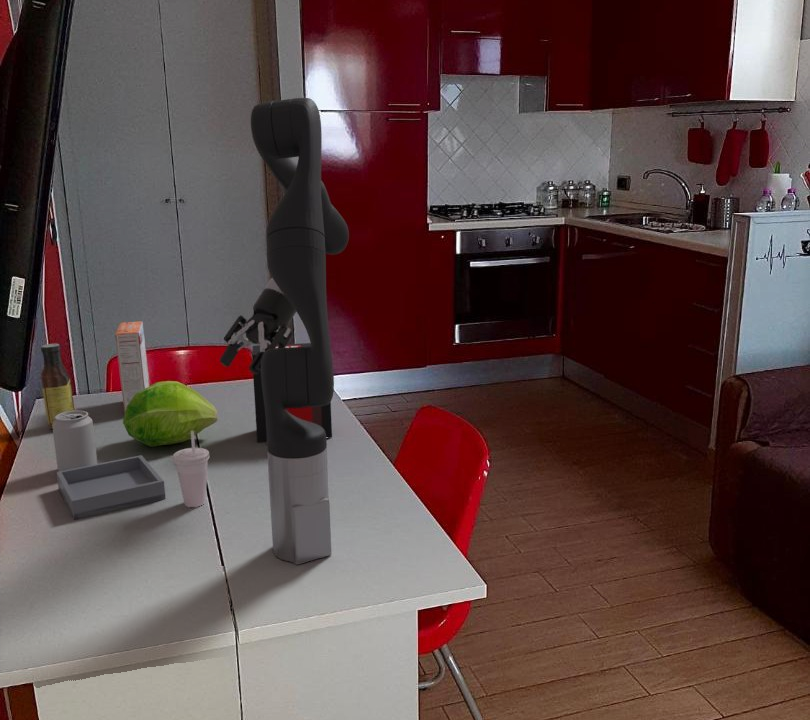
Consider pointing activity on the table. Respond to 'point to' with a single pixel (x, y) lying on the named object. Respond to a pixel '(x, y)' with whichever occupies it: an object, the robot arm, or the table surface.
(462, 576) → the table surface
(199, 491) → the smoothie
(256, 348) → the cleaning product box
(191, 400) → the lettuce
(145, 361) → the cracker box
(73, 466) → the can
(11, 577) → the table surface
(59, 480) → the tray
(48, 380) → the sauce bottle
